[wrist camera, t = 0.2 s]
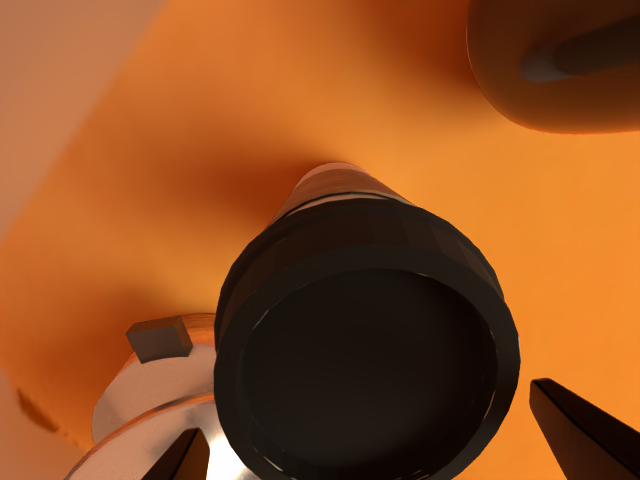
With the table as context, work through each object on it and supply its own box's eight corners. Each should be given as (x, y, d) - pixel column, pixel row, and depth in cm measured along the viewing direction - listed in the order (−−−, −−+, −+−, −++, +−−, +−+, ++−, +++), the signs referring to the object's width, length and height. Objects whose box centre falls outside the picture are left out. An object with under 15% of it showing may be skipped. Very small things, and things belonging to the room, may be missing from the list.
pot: (324, 449, 30) (324, 511, 26) (176, 469, 31) (152, 532, 27) (275, 272, 23) (264, 315, 19) (86, 305, 24) (32, 354, 20)
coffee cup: (263, 256, 23) (179, 498, 9) (280, 128, 20) (188, 199, 6) (383, 275, 23) (476, 529, 10) (418, 153, 20) (633, 274, 6)
